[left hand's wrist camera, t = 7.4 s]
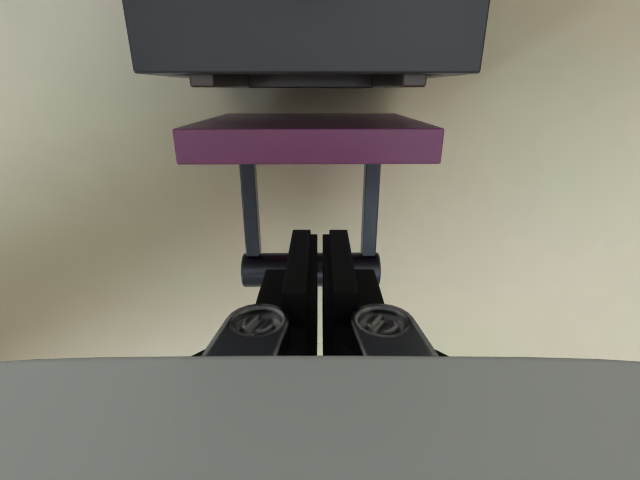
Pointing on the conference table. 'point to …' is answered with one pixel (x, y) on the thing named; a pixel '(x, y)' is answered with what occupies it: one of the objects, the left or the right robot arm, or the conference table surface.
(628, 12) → the conference table surface
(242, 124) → the drawer
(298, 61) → the cabinet
